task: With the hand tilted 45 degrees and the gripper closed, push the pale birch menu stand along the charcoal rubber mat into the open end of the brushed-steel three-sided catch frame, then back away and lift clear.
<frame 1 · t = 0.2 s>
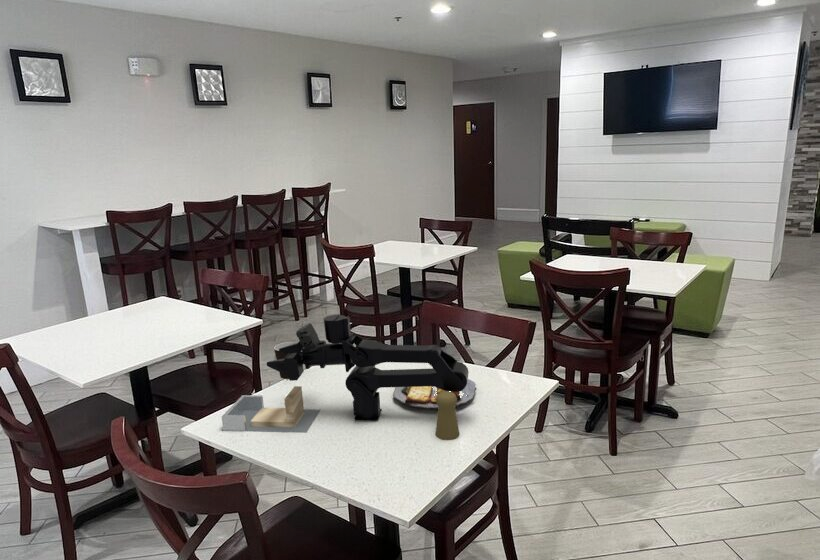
hand: (273, 357, 150), 17 cm above the table, tool horizontal, fingers open, 9 cm apart
menu stand: (278, 419, 149), resting on rubber mat
rubber mat: (272, 421, 149), on the table
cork: (447, 434, 138), on the table
catch frame: (246, 419, 150), resting on rubber mat
coffee mug: (295, 375, 181), on the table
food plate: (434, 396, 161), on the table
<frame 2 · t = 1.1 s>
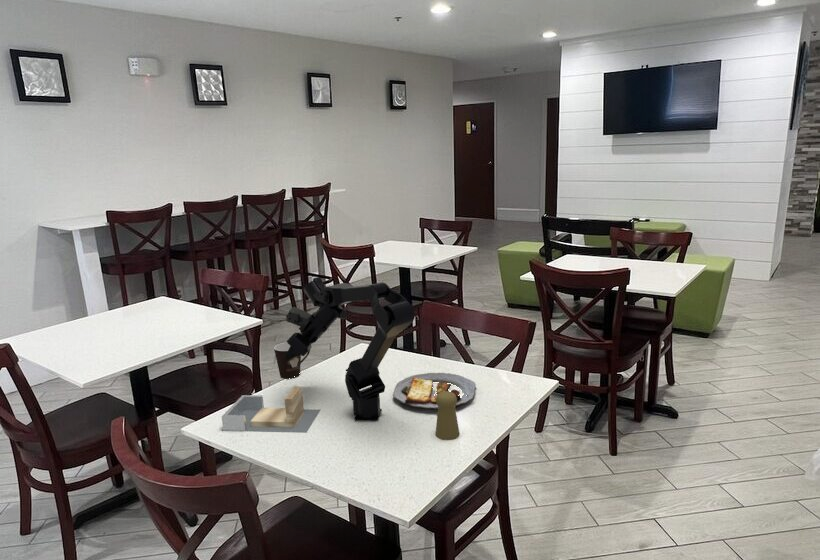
hand: (289, 355, 160), 14 cm above the table, tool tilted 45°, fingers open, 6 cm apart
nothing on the table moved.
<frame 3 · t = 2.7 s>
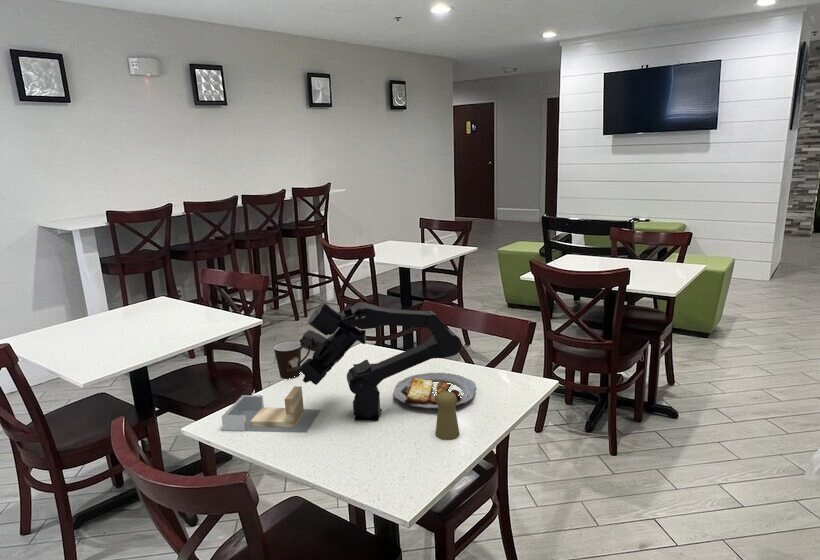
hand: (304, 381, 150), 10 cm above the table, tool tilted 45°, fingers closed
nothing on the table moved.
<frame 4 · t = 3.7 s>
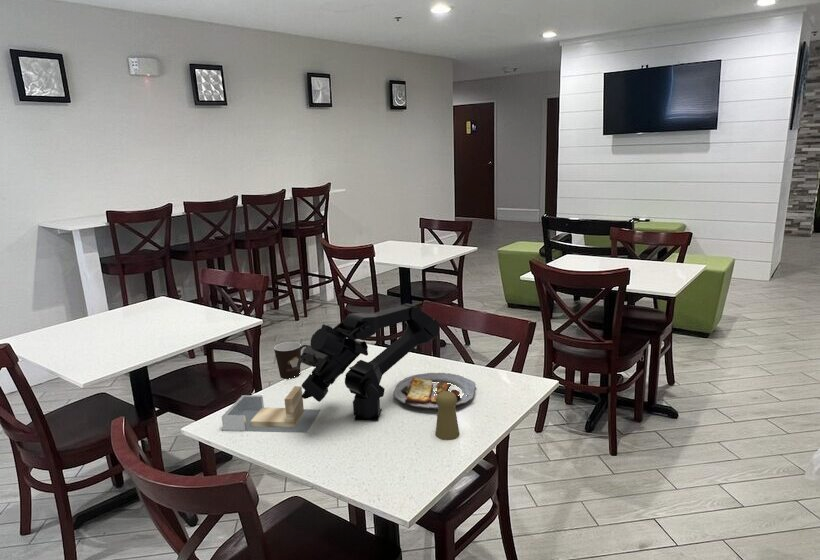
hand: (303, 397, 147), 7 cm above the table, tool tilted 45°, fingers closed
nothing on the table moved.
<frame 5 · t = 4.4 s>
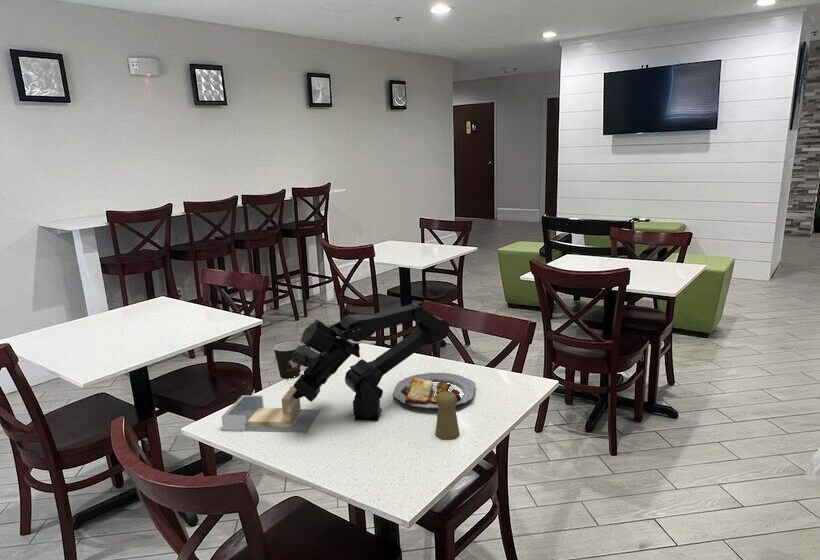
hand: (294, 397, 147), 7 cm above the table, tool tilted 45°, fingers closed, pressing on menu stand
menu stand: (275, 419, 149), resting on rubber mat, touching gripper
everything else where it was.
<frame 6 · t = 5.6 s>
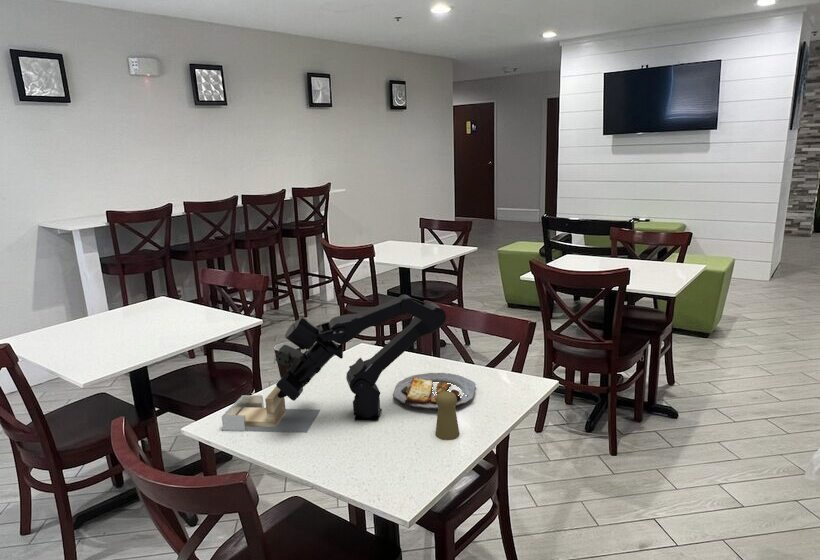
hand: (279, 396, 147), 7 cm above the table, tool tilted 45°, fingers closed, pressing on menu stand
menu stand: (259, 419, 150), resting on rubber mat, touching gripper
everything else where it was.
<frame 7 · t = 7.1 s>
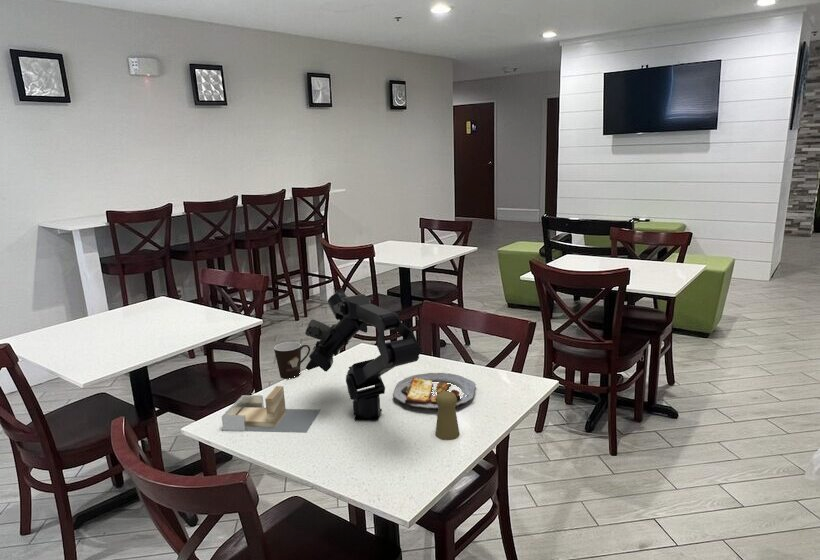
hand: (307, 368, 155), 11 cm above the table, tool tilted 45°, fingers closed
menu stand: (259, 419, 150), resting on rubber mat
everything else where it was.
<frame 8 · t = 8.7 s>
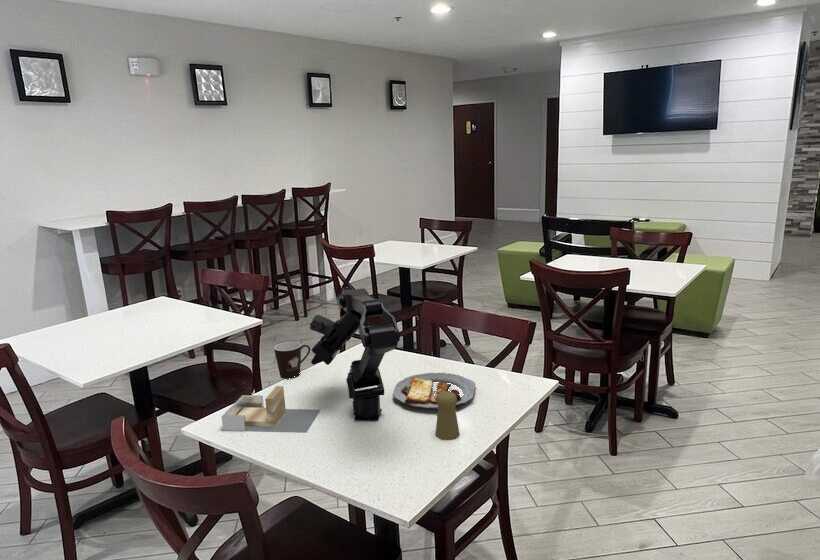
hand: (312, 363, 158), 12 cm above the table, tool tilted 45°, fingers closed
nothing on the table moved.
at the end: menu stand 0.9 cm from the target spot, resting on rubber mat; menu stand tilted 0° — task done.
